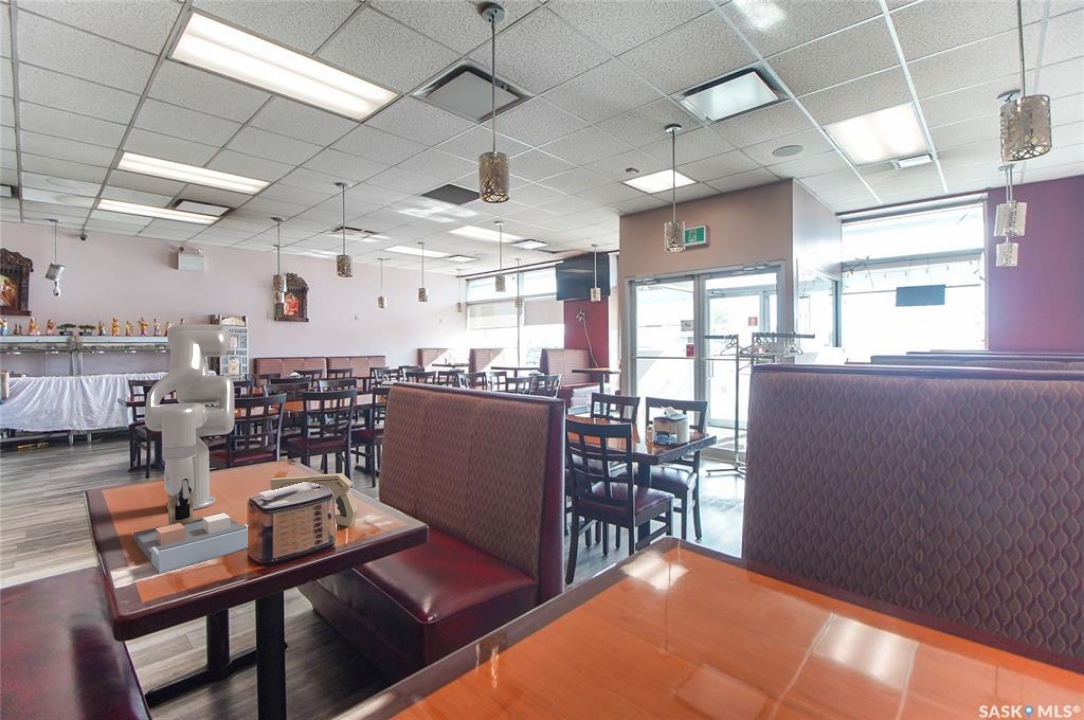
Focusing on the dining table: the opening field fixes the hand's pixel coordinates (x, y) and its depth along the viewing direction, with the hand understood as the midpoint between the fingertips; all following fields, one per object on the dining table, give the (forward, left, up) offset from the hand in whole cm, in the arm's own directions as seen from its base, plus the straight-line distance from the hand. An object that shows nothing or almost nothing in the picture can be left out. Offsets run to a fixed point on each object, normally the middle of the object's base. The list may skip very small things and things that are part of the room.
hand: (180, 516), depth 135 cm
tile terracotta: (+13, -5, -1) cm, 14 cm away
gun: (+22, +27, -4) cm, 35 cm away
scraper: (0, 0, -4) cm, 4 cm away
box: (+23, 0, -4) cm, 23 cm away
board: (+11, 0, -4) cm, 12 cm away
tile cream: (+13, +5, -1) cm, 14 cm away
